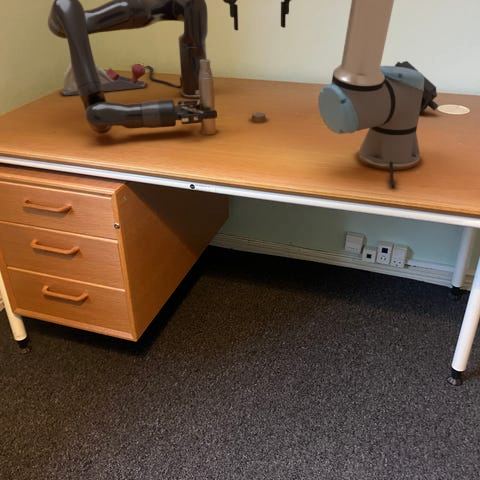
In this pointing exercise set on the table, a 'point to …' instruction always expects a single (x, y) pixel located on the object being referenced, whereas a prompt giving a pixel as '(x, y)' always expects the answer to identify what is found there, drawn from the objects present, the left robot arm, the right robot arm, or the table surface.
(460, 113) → the table surface
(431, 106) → the tool
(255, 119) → the cap
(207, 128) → the bottle
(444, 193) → the table surface
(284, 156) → the table surface
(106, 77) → the hand plane
